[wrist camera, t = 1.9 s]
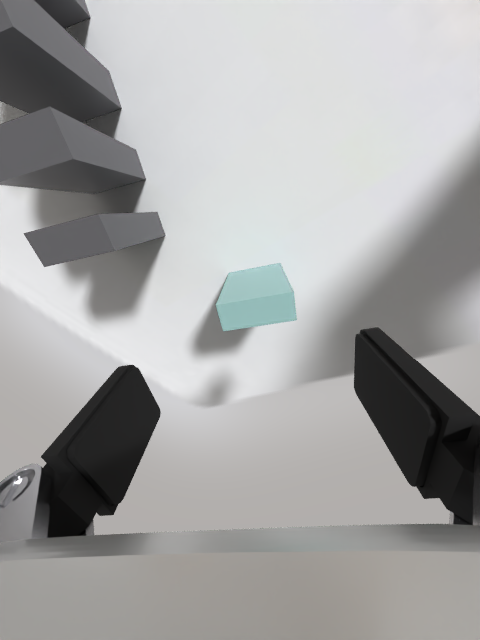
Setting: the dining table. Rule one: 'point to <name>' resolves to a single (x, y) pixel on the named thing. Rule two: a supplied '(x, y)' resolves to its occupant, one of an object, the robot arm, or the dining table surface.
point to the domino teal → (256, 298)
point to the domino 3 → (93, 236)
